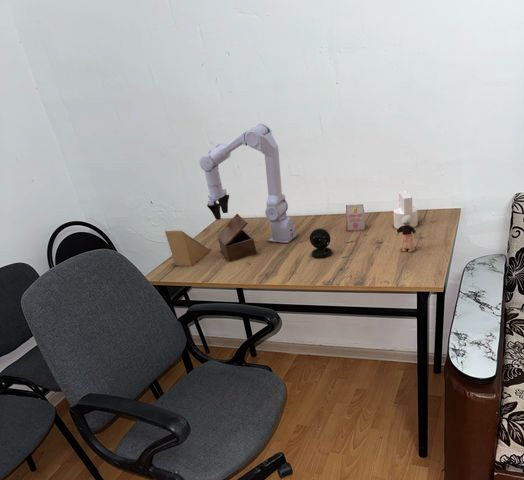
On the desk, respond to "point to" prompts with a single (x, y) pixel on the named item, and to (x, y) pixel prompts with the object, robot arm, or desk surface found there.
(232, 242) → the walnut box
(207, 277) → the desk surface
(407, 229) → the grandmother figurine
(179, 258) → the sandwich container
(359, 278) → the desk surface
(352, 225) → the grey printed box
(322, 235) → the webcam
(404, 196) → the cylinder with rectangular tab
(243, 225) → the lid
